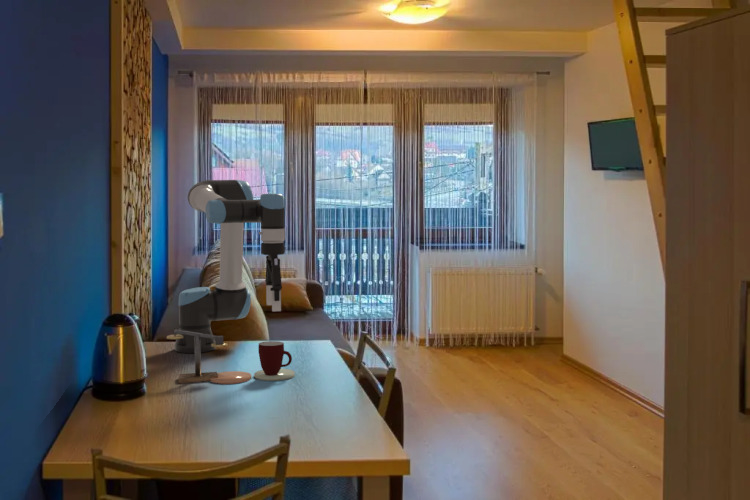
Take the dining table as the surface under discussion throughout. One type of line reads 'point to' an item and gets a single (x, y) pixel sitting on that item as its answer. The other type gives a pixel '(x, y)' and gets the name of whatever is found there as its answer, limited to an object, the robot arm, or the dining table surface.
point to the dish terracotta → (231, 377)
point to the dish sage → (282, 375)
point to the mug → (272, 357)
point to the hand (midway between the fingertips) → (273, 308)
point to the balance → (198, 356)
